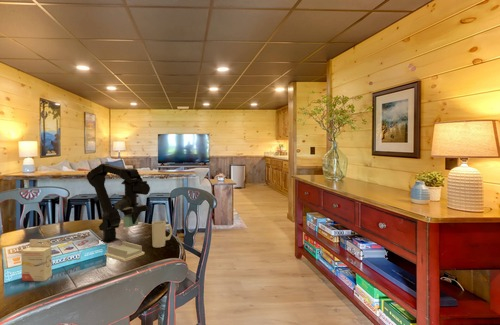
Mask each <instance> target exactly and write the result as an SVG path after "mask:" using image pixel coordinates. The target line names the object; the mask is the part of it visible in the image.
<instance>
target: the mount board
mask: <svg viewBox="0 0 500 325" xmlns="http://www.w3.org/2000/svg"><path fill="white" fill-rule="evenodd" d="M106 248H107V252H105V253H104V256H105V255H106V256H105V257H107V256H108V258H111V259H113V260H117V261H122V262H125V263H126V262H128V261H131V260H132V259H136V258H137V257H140V256H143V255H145V251H143V246H142V245H140V244H136V243H132V242H128V241H124V240H122V242H121V245H119V246H111V245H107V246H106Z"/></svg>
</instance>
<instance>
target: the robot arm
mask: <svg viewBox="0 0 500 325" xmlns="http://www.w3.org/2000/svg"><path fill="white" fill-rule="evenodd" d="M108 174H111V175H116V176H119V177H120V179H122V180H123V181H122V182H120V183H121V185H124V194H123V195H122V196H121V197H122V199H121V198H120V199H119V200H117V201H116V202H114V203H113V205H112V203H111V199H110V197H109V194H108V191H107V188H106V187H105V186H106V185H105V183H106V177H107V175H108ZM86 180H87V182H88V183H89V185H90V186H92V187H93V188H94V190H95V193H96V195H97V199H98V202H99V204H100V207H101V210H102V213H103V214H102V217H101V220H102V222H101V223H100V224H99V225H98V229H99V231H102V237H103V238H102V239H103V240H104V241H105V242H104V241H103V242H104V243H110V242H114V241H118V240H119V237H117V231H116V229H117V228H119V227H120V224H121V221H122V220H121V218H122V217H121V215H120V212H121V213H122V214H123V216H125V215H128V214H132V222H133V224H135V222H136V220H137V218H138V219H139V216H140V215H141V213H143V212H147V211H148V205H147V204H140V203H139V202H138V201H137V198H139V195H142V196H146V195H149V193H150V191H151V186H150V184H148V181H147V180H143V179H142V176H141V174H140V173H139V171H138V169H137V168H131V167H130V168H129V167H128V168H126V167H125V168H124V167H121V166H116V165H113V164H110V163H100V164H98V166H96V167H94V168H92V169H91V170H90V171H88V172H87V173H86ZM113 207H114V208H113ZM119 211H120V212H119Z"/></svg>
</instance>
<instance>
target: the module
mask: <svg viewBox="0 0 500 325" xmlns="http://www.w3.org/2000/svg"><path fill="white" fill-rule="evenodd" d="M122 222H123V227H127V228H131V227H134V226H135V227H136V226H139V217H138V218H137V220H136V222H135V224H133V222H132V214H128V215H125V216H124V215H123V219H122Z"/></svg>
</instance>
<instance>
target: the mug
mask: <svg viewBox="0 0 500 325" xmlns="http://www.w3.org/2000/svg"><path fill="white" fill-rule="evenodd" d="M167 229H169V235H167V236H166V230H167ZM172 235H173V227H172V226H171V223H168V224H167V223H166V221H164V220H156V221H152V222H151V237H152V238H151V239H152V240H151V241H152V244H151V245H152V247H153V248H157V249H158V248H162V247H165V246H166V241H169V240H171V237H172Z"/></svg>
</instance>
